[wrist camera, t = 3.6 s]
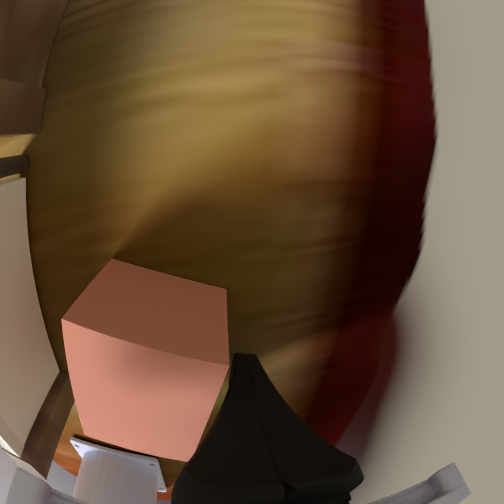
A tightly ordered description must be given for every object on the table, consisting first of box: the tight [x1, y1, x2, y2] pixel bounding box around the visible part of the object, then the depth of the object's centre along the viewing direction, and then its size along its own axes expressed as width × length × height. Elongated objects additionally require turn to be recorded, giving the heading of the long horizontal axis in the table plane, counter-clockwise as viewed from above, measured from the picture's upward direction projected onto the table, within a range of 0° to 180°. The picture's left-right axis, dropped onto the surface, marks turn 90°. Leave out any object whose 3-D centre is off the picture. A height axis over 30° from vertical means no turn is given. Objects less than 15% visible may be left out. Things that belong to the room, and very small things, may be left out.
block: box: [61, 259, 230, 462], centre depth 10 cm, size 7×5×4 cm
